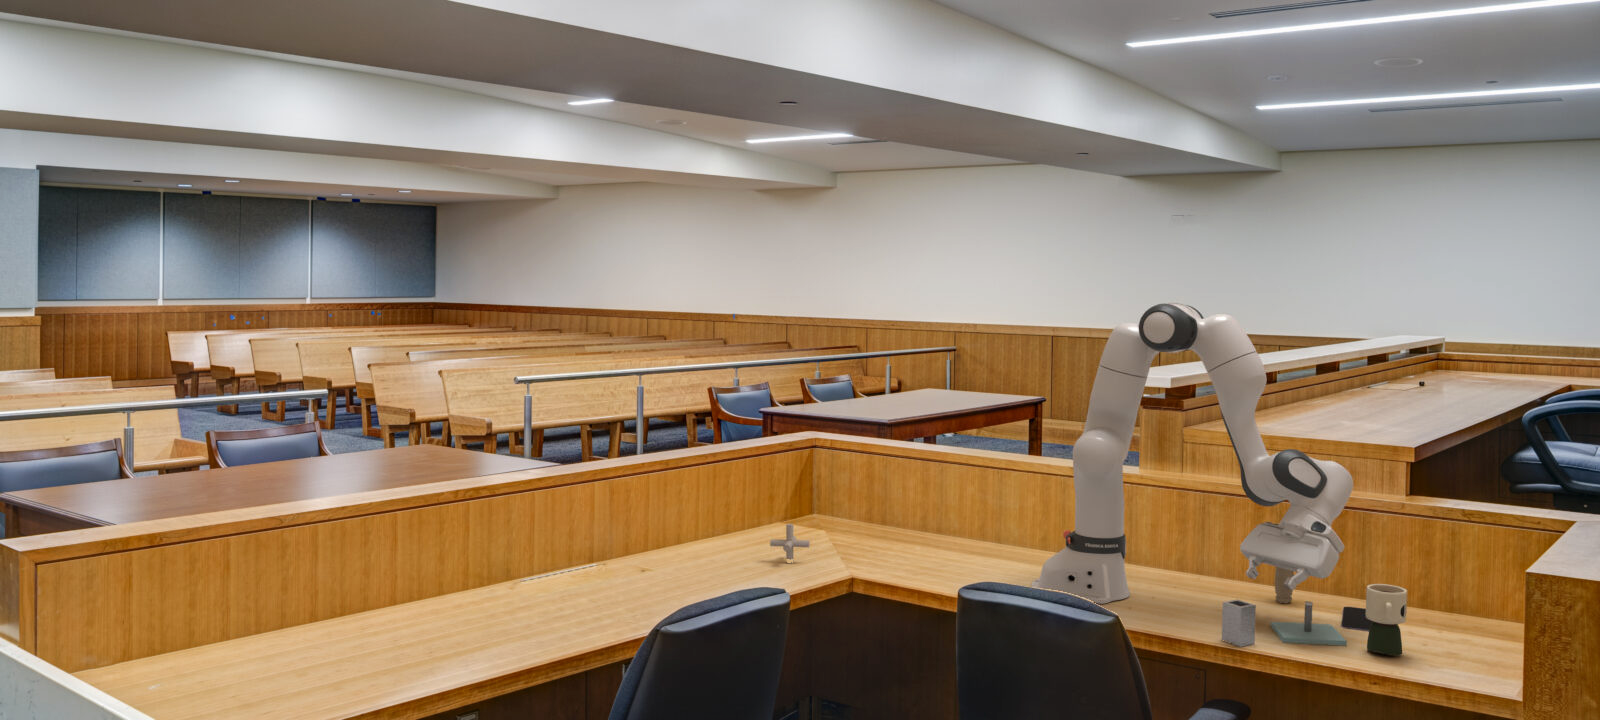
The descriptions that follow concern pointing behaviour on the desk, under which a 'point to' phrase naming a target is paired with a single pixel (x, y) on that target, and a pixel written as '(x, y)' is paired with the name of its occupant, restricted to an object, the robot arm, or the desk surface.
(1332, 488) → the robot arm
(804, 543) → the pipe connector
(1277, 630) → the post base
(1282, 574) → the handle
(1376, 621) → the character mug
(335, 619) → the desk surface
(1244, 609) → the grey hollow box
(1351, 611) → the smartphone
